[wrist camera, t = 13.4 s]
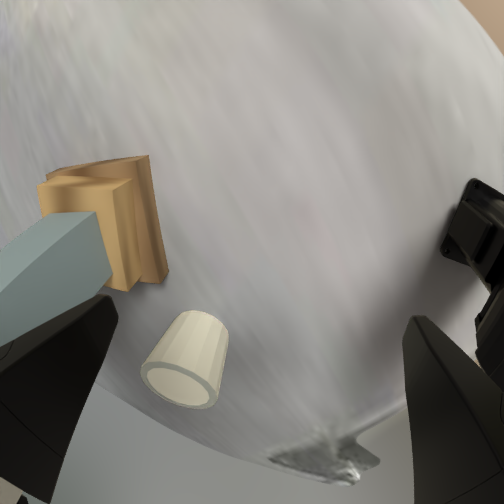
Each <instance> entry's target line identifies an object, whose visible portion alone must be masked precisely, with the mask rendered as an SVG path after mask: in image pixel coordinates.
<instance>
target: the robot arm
mask: <svg viewBox="0 0 504 504" xmlns="http://www.w3.org/2000/svg"><path fill="white" fill-rule="evenodd" d="M475 183H477V185H476V187H475V188H474V184H475ZM447 248H448V250H447V251H446V252H445V250H446V249H447ZM440 252H441V253H442V255H443V256H444V257H447V258H449V259H452V260H455V261H457V262H460V263H463V264H465V265H468V266H470V267H472V269H473V270H474V271H475V273H476V274H477V276H478V277H479V278H480V280H481V281H482V283H483V284H484V285H485V287H486V288H487V290H488V291H489V293H490V296H489V298H488V300H487V302H486V304H485V305H484V307H483V309H482V311H481V312H480V313H478V315H477V317H476V318H475V326H476V340H477V347H478V348H477V349H476V351H475V354H476V358H477V360H478V362H479V365H480V367H481V368H480V367H479V366H478V365H477V364H476V363H475V362H474V361H473V360H472V359H471V358H470V357H469V356H468V355H467V354H466V353H465V352H464V351H463V350H462V349H461V348H460V347H458V346H457V345H456V344H455V343H454V342H453V341H452V340H451V339H450V338H449V337H448V336H447V335H446V334H445V333H444V332H443V331H441V330H440V329H439V328H438V327H437V326H436V325H435V324H434V323H433V322H432V321H431V320H429V319H428V318H427V317H426V316H424V315H416V316H412V317H411V318H410V320H409V322H408V325H407V328H406V331H405V333H404V336H403V341H402V346H403V359H404V374H405V391H406V399H407V406H408V413H409V422H410V430H411V440H412V453H413V469H414V504H504V195H503V194H502V193H500V192H498V191H497V190H495V189H493V188H492V187H490V186H489V185H487V184H485V183H483V182H482V181H480V180H478V179H476V178H472V179H471V180H470V182H469V184H468V187H467V190H466V192H465V195H464V197H463V200H462V202H461V203H460V205H459V208H458V210H457V212H456V215H455V217H454V219H453V221H452V224H451V226H450V228H449V230H448V233H447V236H446V238H445V240H444V242H443V244H442V246H441V248H440ZM117 323H118V313H117V310H116V308H115V305H114V303H113V300H112V298H111V297H110V296H109V295H104V294H98V295H96V296H94V297H92V298H90V299H88V300H86V301H84V302H82V303H80V304H79V305H77V306H75V307H73V308H71V309H69V310H67V311H65V312H63V313H61V314H60V315H58V316H56V317H54V318H52V319H50V320H48V321H47V322H45V323H43V324H41V325H39V326H37V327H35V328H34V329H32V330H30V331H28V332H26V333H24V334H23V335H21V336H19V337H17V338H16V339H14V340H12V341H10V342H8V343H6V344H5V345H3V346H1V347H0V504H28V501H27V498H26V497H25V496H24V495H23V494H22V491H24V492H26V493H28V494H30V495H32V496H33V497H35V498H37V499H39V500H41V501H43V502H45V503H47V504H50V502H51V499H52V496H53V493H54V489H55V486H56V483H57V479H58V476H59V473H60V470H61V467H62V464H63V461H64V458H65V455H66V452H67V449H68V446H69V444H70V441H71V438H72V435H73V433H74V430H75V427H76V425H77V422H78V420H79V417H80V415H81V412H82V410H83V407H84V405H85V403H86V400H87V397H88V395H89V393H90V391H91V388H92V386H93V384H94V382H95V379H96V377H97V375H98V373H99V370H100V368H101V366H102V364H103V361H104V359H105V356H106V354H107V351H108V348H109V345H110V342H111V339H112V337H113V334H114V331H115V329H116V326H117Z"/></svg>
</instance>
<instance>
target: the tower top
mask: <svg viewBox="0 0 504 504" xmlns="http://www.w3.org/2000/svg"><path fill="white" fill-rule="evenodd" d="M37 191H38V197H39V203H40V208H41V213H42V217H43V218H44V217H45V216H47V215H48V214H50V213H67V212H89V211H95V212H96V216H97V220H98V224H99V228H100V231H101V235H102V239H103V242H104V246H105V249H106V253H107V256H108V259H109V262H110V266H111V269H112V272H113V274H112V275H111V276H110V278H109V279H108V280H107V281H106V282H105V284H104V285H103V286H106V287H110V288H114V289H118V290H122V291H126V292H129V290H130V289H131V288H132V286H133V285H134V284H135V283H136V281H137V280H138V279H139V278H140V277H141V275H142V267H141V261H140V253H139V245H138V237H137V228H136V219H135V208H134V196H133V182H132V179H126V178H108V177H85V176H55V177H53V178H51V179H49V180H47V181H45V182H43V183H41V184H39V185H38V186H37Z"/></svg>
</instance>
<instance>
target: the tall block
mask: <svg viewBox="0 0 504 504" xmlns="http://www.w3.org/2000/svg"><path fill="white" fill-rule="evenodd" d="M112 274H113V272H112V269H111V266H110V262H109V259H108V256H107V253H106V249H105V246H104V242H103V239H102V235H101V231H100V228H99V224H98V220H97V216H96V212H95V211H89V212H67V213H50V214H48V215H47V216H45V217H44V218H42V219H41V220H39V221H38V222H37V223H35V224H34V225H32V226H31V227H30V228H28V229H27V230H26V231H24V232H23V233H22V234H20V235H19V236H18V237H16V238H15V239H14V240H12V241H11V242H10V243H9V244H7V245H6V246H5V247H4V248H2V249H1V250H0V347H1V346H3V345H5V344H6V343H8V342H10V341H12V340H14V339H16V338H17V337H19V336H21V335H23V334H24V333H26V332H28V331H30V330H32V329H34V328H35V327H37V326H39V325H41V324H43V323H45V322H47V321H48V320H50V319H52V318H54V317H56V316H58V315H60V314H61V313H63V312H65V311H67V310H69V309H71V308H73V307H75V306H77V305H79V304H80V303H82V302H84V301H86V300H88V299H90V298H92V297H94V296H95V294H96V293H97V292H98V291H99V289H100V288H101V287H102V286H103V285H104V284H105V282H106V281H107V280H108V279H109V278H110V276H111V275H112Z"/></svg>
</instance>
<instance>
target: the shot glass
mask: <svg viewBox="0 0 504 504" xmlns="http://www.w3.org/2000/svg"><path fill="white" fill-rule="evenodd" d="M228 343H229V335H228V331H227V329H226V328H225V326H224V325H223V323H221V322H220V321H219V320H218V319H216V318H215V317H214V316H211V315H209V314H207V313H205V312H201V311H193V310H191V311H186V312H182V313H181V314H180V315H178V316H177V317H176V318H175V320H174V321H173V322H172V324H171V325H170V327H169V328H168V329H167V331H166V332H165V334H164V335H163V336H162V338H161V339H160V341H159V342H158V343H157V345H156V346H155V348H154V349H153V351H152V352H151V353H150V355H149V356H148V358H147V359H146V361H145V362H144V363H143V365H142V366H141V371H140V375H141V378H142V380H143V382H144V383H145V384H146V386H147V387H148V388H149V389H150V390H151V391H152V392H154V393H155V394H156V395H158V396H159V397H161V398H163V399H164V400H166V401H168V402H171V403H173V404H175V405H178V406H181V407H186V408H190V409H206V408H209V407H212V406H214V404H215V403H216V401H217V400H218V395H219V389H220V384H221V379H222V374H223V368H224V363H225V358H226V353H227V348H228Z"/></svg>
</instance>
